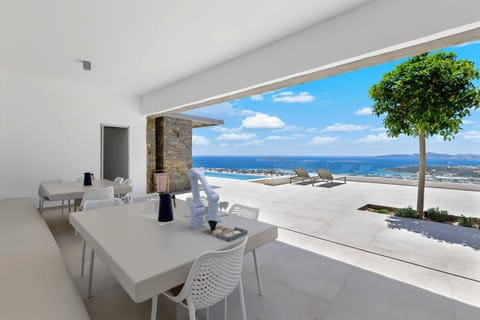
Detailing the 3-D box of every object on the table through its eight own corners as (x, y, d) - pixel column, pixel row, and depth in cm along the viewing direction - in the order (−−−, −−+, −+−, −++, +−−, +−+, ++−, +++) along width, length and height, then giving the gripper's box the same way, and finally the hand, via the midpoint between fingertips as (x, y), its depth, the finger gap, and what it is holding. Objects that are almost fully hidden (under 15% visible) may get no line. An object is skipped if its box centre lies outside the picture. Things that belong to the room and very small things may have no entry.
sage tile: (232, 234, 152) (232, 231, 152) (237, 233, 155) (237, 230, 155) (236, 236, 149) (236, 233, 149) (241, 235, 152) (241, 232, 151)
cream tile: (212, 234, 151) (212, 231, 151) (217, 232, 155) (217, 229, 155) (217, 235, 148) (217, 232, 148) (222, 233, 152) (222, 230, 152)
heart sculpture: (203, 219, 190) (203, 197, 189) (199, 220, 186) (199, 198, 185) (189, 216, 198) (189, 195, 197) (185, 217, 193) (185, 196, 193)
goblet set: (207, 223, 178) (207, 206, 177) (202, 222, 181) (202, 205, 181) (229, 215, 200) (229, 200, 200) (224, 214, 204) (224, 200, 203)
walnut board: (200, 233, 155) (200, 232, 155) (219, 227, 169) (219, 225, 169) (216, 239, 145) (216, 237, 145) (235, 231, 159) (235, 230, 159)
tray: (216, 239, 145) (216, 233, 145) (235, 231, 159) (235, 226, 159) (228, 243, 138) (228, 237, 138) (247, 235, 152) (247, 230, 152)
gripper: (224, 212, 152) (224, 232, 153) (210, 208, 162) (210, 227, 162) (217, 214, 147) (217, 235, 147) (202, 210, 157) (202, 230, 157)
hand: (212, 231), depth 154 cm, fingers closed
